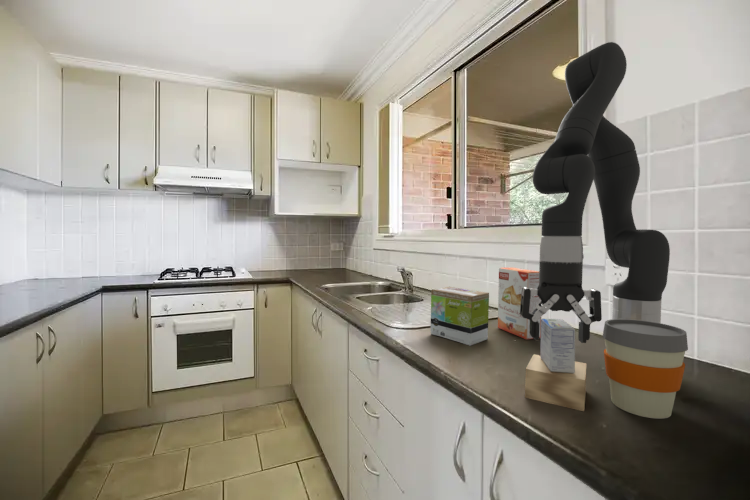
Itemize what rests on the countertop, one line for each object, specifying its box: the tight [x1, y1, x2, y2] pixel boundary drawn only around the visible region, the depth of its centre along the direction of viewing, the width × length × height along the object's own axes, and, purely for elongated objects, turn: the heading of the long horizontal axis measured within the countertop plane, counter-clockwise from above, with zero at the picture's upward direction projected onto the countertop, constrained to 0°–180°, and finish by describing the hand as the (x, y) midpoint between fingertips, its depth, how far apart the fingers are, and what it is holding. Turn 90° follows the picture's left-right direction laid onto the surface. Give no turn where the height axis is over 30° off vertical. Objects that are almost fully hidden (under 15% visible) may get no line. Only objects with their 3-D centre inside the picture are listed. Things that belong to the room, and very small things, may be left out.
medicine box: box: [539, 318, 576, 373], centre depth 70 cm, size 8×4×9 cm, turn 168°
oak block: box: [524, 353, 588, 412], centre depth 71 cm, size 10×10×6 cm
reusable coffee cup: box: [602, 318, 689, 419], centre depth 66 cm, size 13×13×15 cm
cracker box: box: [497, 267, 542, 340], centre depth 114 cm, size 14×6×21 cm, turn 17°
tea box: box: [430, 286, 490, 347], centre depth 109 cm, size 15×10×15 cm
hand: (558, 340), depth 70 cm, fingers open, 8 cm apart
